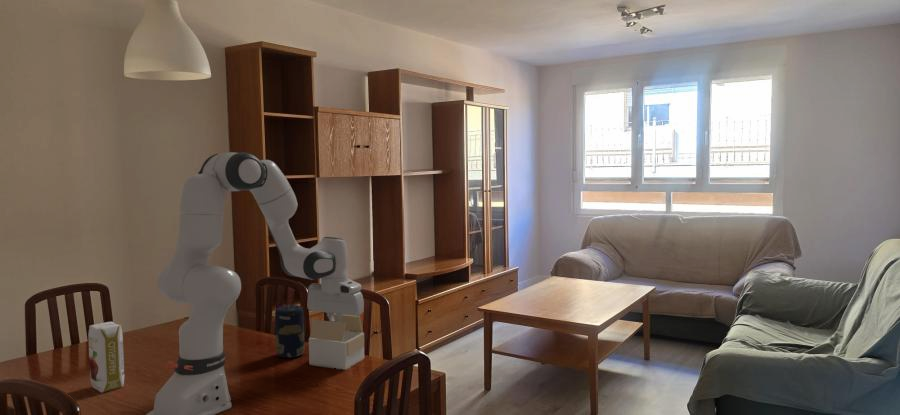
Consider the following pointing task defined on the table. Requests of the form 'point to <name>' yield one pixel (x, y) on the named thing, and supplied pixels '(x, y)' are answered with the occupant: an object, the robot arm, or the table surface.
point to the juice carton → (106, 356)
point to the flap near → (327, 330)
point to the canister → (289, 331)
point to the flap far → (350, 322)
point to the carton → (337, 351)
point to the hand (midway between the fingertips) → (335, 325)
